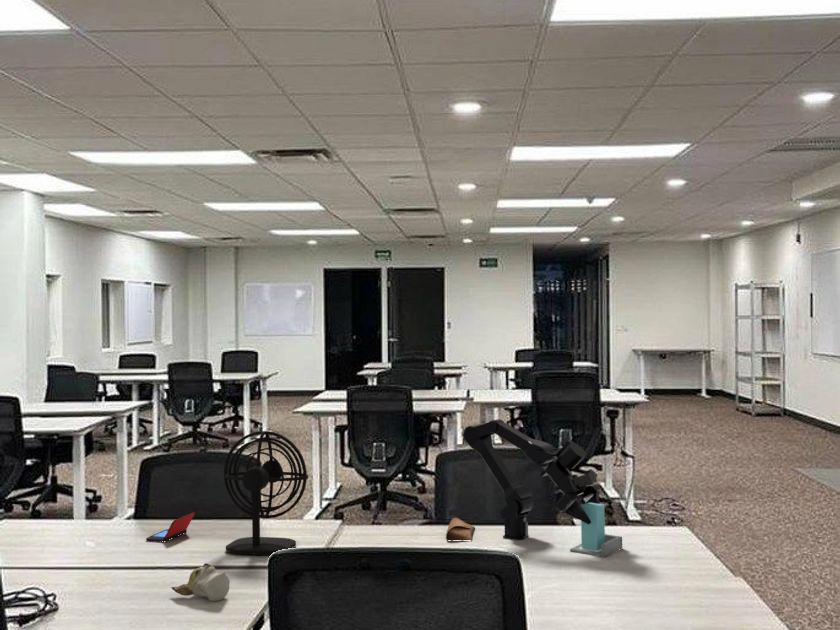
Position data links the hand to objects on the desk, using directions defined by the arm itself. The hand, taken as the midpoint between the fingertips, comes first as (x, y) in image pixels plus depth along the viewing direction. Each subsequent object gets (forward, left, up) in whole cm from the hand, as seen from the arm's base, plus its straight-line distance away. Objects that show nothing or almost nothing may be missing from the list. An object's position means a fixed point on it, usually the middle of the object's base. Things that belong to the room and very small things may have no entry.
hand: (597, 520), depth 250 cm
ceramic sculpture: (-81, -77, -9) cm, 112 cm away
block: (-1, 0, -8) cm, 8 cm away
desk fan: (-94, -33, -9) cm, 100 cm away
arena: (-1, 0, -9) cm, 9 cm away
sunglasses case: (-44, +4, -10) cm, 46 cm away
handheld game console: (-130, -33, -9) cm, 134 cm away
